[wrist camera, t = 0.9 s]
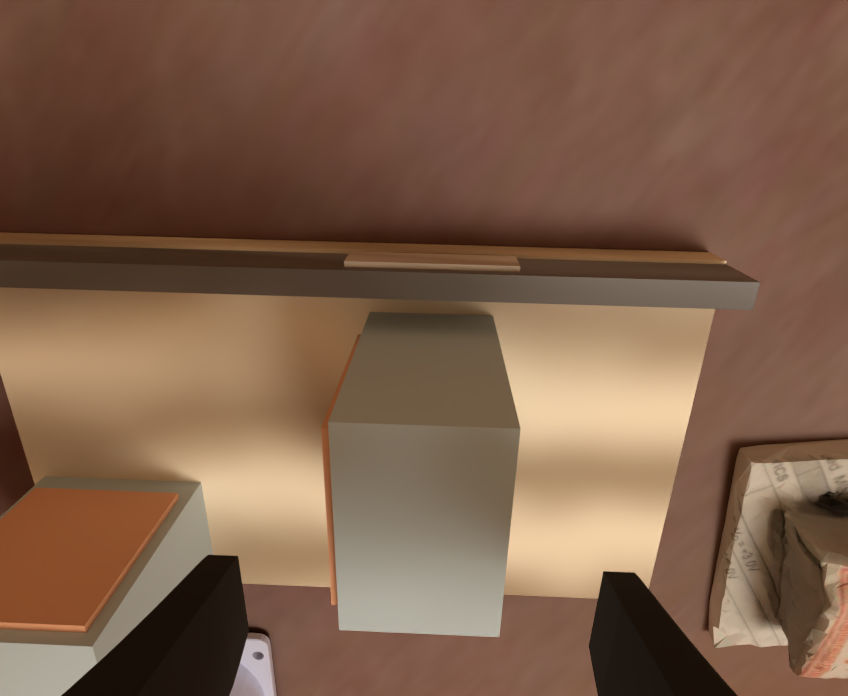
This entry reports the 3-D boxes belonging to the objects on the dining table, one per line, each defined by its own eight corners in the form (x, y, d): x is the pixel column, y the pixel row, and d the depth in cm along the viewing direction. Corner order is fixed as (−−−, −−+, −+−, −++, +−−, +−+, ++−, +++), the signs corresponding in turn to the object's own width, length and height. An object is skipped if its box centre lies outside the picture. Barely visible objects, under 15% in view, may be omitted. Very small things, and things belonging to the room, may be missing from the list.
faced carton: (214, 563, 22) (121, 745, 16) (69, 557, 23) (-82, 735, 16) (200, 476, 21) (90, 639, 14) (43, 470, 21) (-136, 629, 14)
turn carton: (493, 315, 18) (520, 428, 11) (481, 470, 20) (499, 637, 14) (362, 311, 18) (316, 421, 12) (366, 466, 20) (329, 629, 14)
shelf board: (636, 577, 23) (663, 643, 21) (80, 554, 24) (29, 616, 21) (709, 250, 18) (761, 276, 15) (-13, 230, 19) (-99, 252, 16)
